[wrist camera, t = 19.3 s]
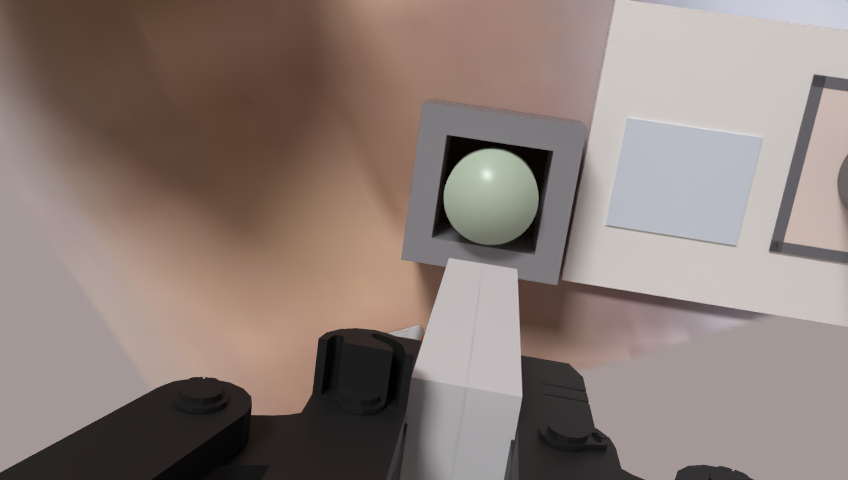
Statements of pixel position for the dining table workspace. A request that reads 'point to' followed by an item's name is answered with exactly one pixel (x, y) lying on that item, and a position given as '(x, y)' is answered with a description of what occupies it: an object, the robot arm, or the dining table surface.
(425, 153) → the button housing
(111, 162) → the dining table surface
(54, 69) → the dining table surface
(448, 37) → the dining table surface
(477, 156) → the button
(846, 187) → the grey and orange bottle
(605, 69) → the board
